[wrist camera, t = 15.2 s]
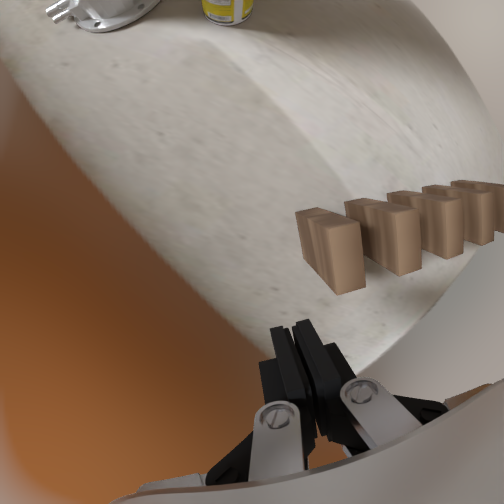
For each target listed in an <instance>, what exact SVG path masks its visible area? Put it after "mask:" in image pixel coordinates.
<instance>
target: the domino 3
mask: <svg viewBox="0 0 504 504" xmlns="http://www.w3.org/2000/svg"><path fill="white" fill-rule="evenodd" d="M387 200H388V202H389V203H394V204H399V205H404V206H409V207H413V208H418V209H419V217H420V231H421V249H424V250H426V251H428V252H431V253H433V254H435V255H437V256H440V257H442V258H444V259H446V260H447V259H450V258H452V257H455V256H457V255H460V254H463V240H464V237H463V205H462V199H460V198H454V197H447V196H441V195H434V194H427V193H419V192H411V191H397V192H392V193H387Z"/></svg>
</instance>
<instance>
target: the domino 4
mask: <svg viewBox="0 0 504 504" xmlns="http://www.w3.org/2000/svg"><path fill="white" fill-rule="evenodd" d="M422 192H423V193H427V194H434V195H441V196H447V197H454V198H460V199H462V205H463V237H464V240H467V241H470V242H472V243H475V244H478V245H481V246H483V245H485V244H487V243H489V242H492V241H494V198H493V192H490V191H483V190H476V189H468V188H460V187H452V186H443V185H431V186H425V187H422Z"/></svg>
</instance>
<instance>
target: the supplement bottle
mask: <svg viewBox="0 0 504 504" xmlns="http://www.w3.org/2000/svg"><path fill="white" fill-rule="evenodd" d="M201 1H202V7H203V12H204V15H205V16H206V18H207V19H208V20H209V21H211V22H213V23H215V24H218V25H235V24H238V23H241V22H243V21H244V20H246V19H247V18H248V17H249V16H250V14H251V12H252V9H253V1H254V0H201Z"/></svg>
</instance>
